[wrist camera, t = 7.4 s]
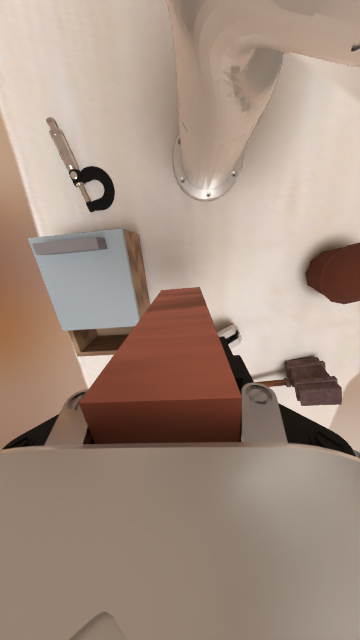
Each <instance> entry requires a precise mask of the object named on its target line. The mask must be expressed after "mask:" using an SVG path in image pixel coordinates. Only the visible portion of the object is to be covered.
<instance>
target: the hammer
mask: <svg viewBox="0 0 360 640" xmlns="http://www.w3.org/2000/svg"><path fill="white" fill-rule="evenodd" d="M286 368H287V369H286V371H287V375H288V376H287V377H288V378H284V380H273V381H263V382H254V383H260V384H263V385H266V386H268V387H272V386H282V385H286V386H287V387H291V386H292V387H295V390H296V391H295V392H296V397H297V400H298V401H300V402H301V406H310V405H336V404H341V403H342V388H341V387H340V386H339V385H338V384H337V378H336V377H335V376H330V375H329V374H328V373H327V372H326V370H325V362H324V361H319V358H317V357H315V358H305V359H297V360H288V361H286Z"/></svg>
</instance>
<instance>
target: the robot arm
mask: <svg viewBox="0 0 360 640" xmlns="http://www.w3.org/2000/svg"><path fill="white" fill-rule="evenodd" d="M166 1H167V5H168V10H169V15H170V20H171V27H172V33H173V42H174V51H175V63H176V77H177V95H178V111H179V128H180V132H179V134H178V136H177V138H176V142H175V145H174V151H173V166H174V171H175V176H176V178H177V181H178V183H179V185H180V186H181V188H182V190H183V191H184V192H185V193H186V194H187V195H189V196H190V197H192V198H194V199H196V200H200V201H211V200H214V199H217V198H219V197H221V196H222V195H223V194H225V193H226V192H227V191H228V190H229V189H230V188H231V187H232V185H233V184H234V182H235V181H236V179H237V177H238V175H239V172H240V169H241V167H242V162H243V151H244V149H243V148H244V146H245V144H246V142H247V141H248V139H249V137H250V135H251V133H252V131H253V129H254V128H255V126H256V124H257V122H258V120H259V118H260V116H261V114H262V112H263V111H264V109H265V107H266V105H267V103H268V101H269V99H270V97H271V95H272V92H273V90H274V87H275V85H276V82H277V79H278V75H279V72H280V69H281V65H282V60H283V55H284V53H290V52H292V53H297V54H301V55H305V56H309V57H313V58H318V59H322V60H326V61H330V62H334V63H339V64H343V65H347V66H351V67H358V68H360V0H166ZM179 143H180V144H181V145H179ZM232 174H234V177H233V176H232ZM182 181H184V183H182ZM207 195H209V197H207ZM219 339H220V342H221V344H222V347H223V349H224V352H225V355H226V357H227V360H228V362H229V365H230V368H231V370H232V373H233V375H234V378H235V381H236V383H237V386H238V389H239V391H240V394H241V396H242V407H241V423H240V440H239V442H202V443H128V444H95V442H94V440H93V437H92V435H91V432H90V430H89V427H88V425H87V423H86V420H85V418H84V415H83V413H82V410H81V408H80V405H79V402H80V401H81V399H82V398H83V397H84V395H85V394H86V393H87V391H88V390H89V389H85V390H82V391H79V392H77V393H75V394H74V395H72V396H71V397H70V398H69V399H68V400H67V401H66V403H65V404H64V406H63V408H62V410H61V412H60V414H58V415H56V416H55V417H53V418H51V419H49V420H48V421H46V422H44V423H42V424H41V425H38V426H37V427H35V428H33V429H31V430H29V431H28V432H26V433H24V434H22V435H20V436H19V437H17V438H15V439H14V440H13V441H11V442H10V443H9V444H7V445H6V446H5V447H4V448H3V449H2V450H0V640H360V450H359V452H357V451H355V450H353V449H352V448H351V446H349V444H348V443H347V442H346V441H345V440H344V439H343V438H341V437H340V436H339V435H338V434H336V433H334V432H333V431H331V430H329V429H327V428H325V427H323V426H321V425H319V424H317V423H316V422H314V421H312V420H310V419H308V418H306V417H304V416H302V415H300V414H298V413H296V412H294V411H292V410H291V409H289V408H287V407H285V406H283V405H281V404H279V403H278V401H277V397H276V395H275V393H274V392H273V390H272V389H270V388H269V387H268V386H266V385H263V384H260V383H254V382H253V380H252V378H251V376H250V374H249V372H248V370H247V368H246V366H245V364H244V362H243V360H242V358H241V357H240V355H233V354H232V352H231V350H230V347H229V345H228V343H227V341H226V339H225V337H224V336H221V337H219Z"/></svg>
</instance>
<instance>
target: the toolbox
mask: <svg viewBox="0 0 360 640" xmlns="http://www.w3.org/2000/svg"><path fill="white" fill-rule="evenodd" d="M124 234H125V239H126V245H127V250H128V255H129V261H130V266H131V271H132V277H133V282H134V287H135V293H136V298H137V303H138V309H139V314H140V319H141V318H142V316H143V315H144V313H145V312H146V311H147V309H148V308H149V307H150V302H149V296H148V290H147V283H146V277H145V271H144V265H143V258H142V252H141V246H140V239H139V235H137V234H134V233H132V232H129V231H126V230H124ZM134 327H135V326H130V327H115V328H99V329H84V330H68V332H69V334H70V337H71V340H72V342H73V345H74V348H75V351H76V353H77V356H95V355H114V354H115V353H116V352H117V350H118V349H119V348H120V346H121V345H122V343H123V342H124V341H125V339H126V338H127V337H128V335H129V334H130V333H131V331H132V330H133V328H134Z"/></svg>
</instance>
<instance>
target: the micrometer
mask: <svg viewBox="0 0 360 640" xmlns="http://www.w3.org/2000/svg"><path fill="white" fill-rule="evenodd" d="M46 121H47V123H48V125H49V127H50V129H51V130H50V135H51V137H52V139H53V141H54V143H55V145H56V147H57V149H58V151H59V154H60V156H61V158H62V160H63V162H64V164H65V166H66V168H67V170H68V171H69V175H70V177H71V179H72V181H73V183H74V185H75V186H76V187H79V188H80V191H81V193H82V195H83V197H84V199H85V201H86V205H87V207H88V209H89V211H90V212H93V211H95V210H105V209H107V208H109V207H110V206H111V204H112V202H113V200H114V195H115V191H114V185H113V182H112V180H111V178H110V177H109V175H108V174H107V173H106V172H105V171H103V170H102V169H100V168H98V167H94V166H90V167H86V168H84V169H83V170H82V171H81V172H80V171H79V170H78V166H77V164H76V162H75V160H74V157H73V155H72V152H71V151H70V149H69V146H68V144H67V142H66V140H65V137H64V135H63V133H62V131H61V130H60V129H58V128H57V126H56V123H55V120H54V119H53V118H50V117H49V118H47V119H46ZM91 180H99V181H100V182H101V183H102V184H103V186H104V195H103V196H102V197H101V198H100V199H97V200H95V201H92V202H90V200H89V198H88V196H87V194H86V191H85V189H84V187H83V185H84V184H85V183H86V182H89V181H91Z"/></svg>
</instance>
